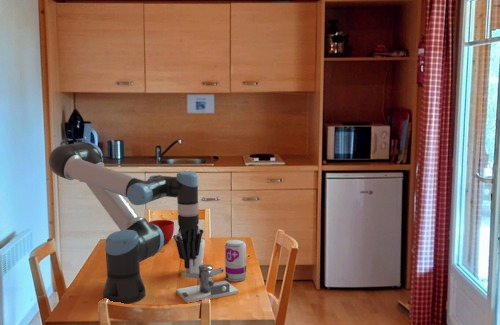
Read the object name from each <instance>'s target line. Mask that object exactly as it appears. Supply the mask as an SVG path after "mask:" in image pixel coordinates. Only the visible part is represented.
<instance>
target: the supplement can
mask: <svg viewBox="0 0 500 325" xmlns="http://www.w3.org/2000/svg"><path fill="white" fill-rule="evenodd" d="M224 259H225V260H224V262H225V263H224V265H225V266H224V268H225V272H224V273H225V279H227V280H226V281H229V282H242V281H244V280H245V279H246V278H247V244H246V243H245V240H243V239H235V238H233V239H229V240H227V241H226V243H225V245H224Z"/></svg>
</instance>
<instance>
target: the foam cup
mask: <svg viewBox="0 0 500 325" xmlns="http://www.w3.org/2000/svg"><path fill="white" fill-rule="evenodd" d="M182 242H183V241H182ZM205 248H206V241H205V239H203V238H201V243H200V250H199V255H198V256H196V257H197V258H196V259H194V267H193V272H195V273H199V266H200V265H204V264H203V261H204V254H205ZM184 269H185V270H186V268H185V267H184Z"/></svg>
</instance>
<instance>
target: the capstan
mask: <svg viewBox="0 0 500 325" xmlns="http://www.w3.org/2000/svg"><path fill="white" fill-rule="evenodd" d="M223 273H224V268H223V267H217V268H216V269H214V266H213V265H212V264H207V263H205V264H202V265H200V266H199V273H195V272H186V270H184V271H182V272H180V277H181V278H182V279H185V278H186V279H188V278H189V279H199V281H198V285H199V286H200V292H203V293H207V292H211V286H213V285H214V282H215V281H214V280H213V278H212V277H215V276H218V275H220V274H223Z"/></svg>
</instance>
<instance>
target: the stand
mask: <svg viewBox="0 0 500 325" xmlns="http://www.w3.org/2000/svg"><path fill="white" fill-rule="evenodd" d="M213 282H214V285H213V286H211V292H207V293H203V292H200V286H199V284H197V285H192V286H187V287H181V288H175V294H177V295H178V296H179V297H180V298H181V299H183V300H182V301H184V302H185V301H186V302H187V303H186V302H185V303H186V304H189V303H188V302H192V303H195V302H194V301H198V302H200V301H199V300H202V299H205V298H211V299H210V300H213V299H217V297H218V298H222V297H228V296H232V295H238V294H239V293H240V291H239V289H237V288H236V287H235V286H233V284H231V283H229V282H228V280H221V281H219V280H218V281H213ZM212 298H213V299H212Z"/></svg>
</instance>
